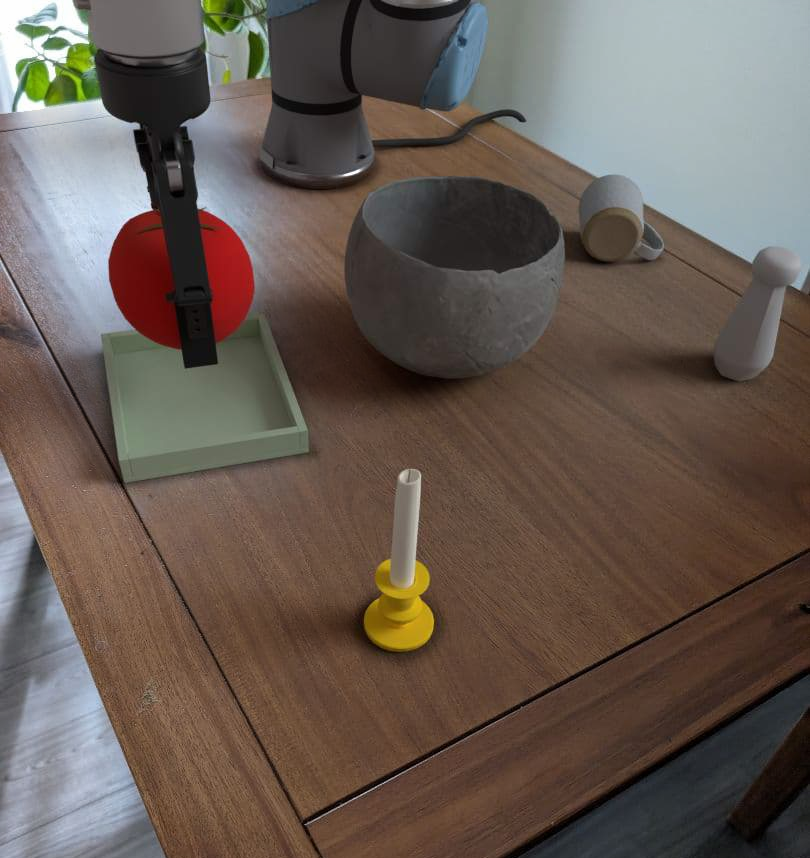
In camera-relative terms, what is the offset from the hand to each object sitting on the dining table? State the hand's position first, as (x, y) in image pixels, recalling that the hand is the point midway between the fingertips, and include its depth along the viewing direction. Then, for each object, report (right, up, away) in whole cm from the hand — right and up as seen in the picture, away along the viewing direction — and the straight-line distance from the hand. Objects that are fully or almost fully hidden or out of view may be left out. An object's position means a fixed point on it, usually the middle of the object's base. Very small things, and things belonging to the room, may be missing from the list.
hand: (190, 322), depth 74 cm
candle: (+18, -25, -10) cm, 33 cm away
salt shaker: (+53, -1, +15) cm, 55 cm away
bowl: (+23, 0, +14) cm, 27 cm away
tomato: (0, -1, +1) cm, 1 cm away
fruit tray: (0, -6, +6) cm, 9 cm away
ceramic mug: (+44, +17, +31) cm, 57 cm away
